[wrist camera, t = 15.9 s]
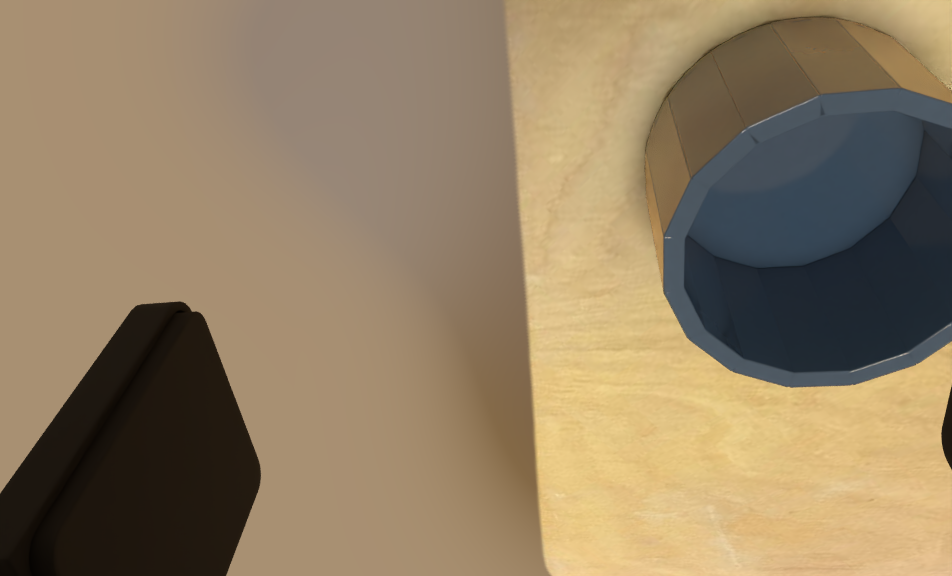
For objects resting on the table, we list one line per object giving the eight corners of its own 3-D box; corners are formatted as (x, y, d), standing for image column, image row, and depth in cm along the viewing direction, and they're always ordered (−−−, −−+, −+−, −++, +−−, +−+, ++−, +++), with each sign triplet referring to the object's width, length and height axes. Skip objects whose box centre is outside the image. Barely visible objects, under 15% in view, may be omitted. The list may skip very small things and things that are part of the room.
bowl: (645, 282, 42) (663, 392, 35) (643, 31, 35) (663, 107, 28) (911, 267, 40) (986, 381, 33) (962, 1, 34) (1070, 73, 26)
